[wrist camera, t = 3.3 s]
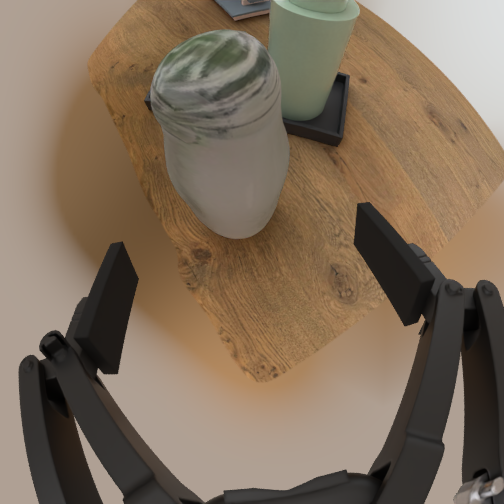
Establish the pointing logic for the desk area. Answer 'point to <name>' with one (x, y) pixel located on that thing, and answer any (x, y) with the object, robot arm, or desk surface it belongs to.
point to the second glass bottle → (309, 50)
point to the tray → (322, 126)
